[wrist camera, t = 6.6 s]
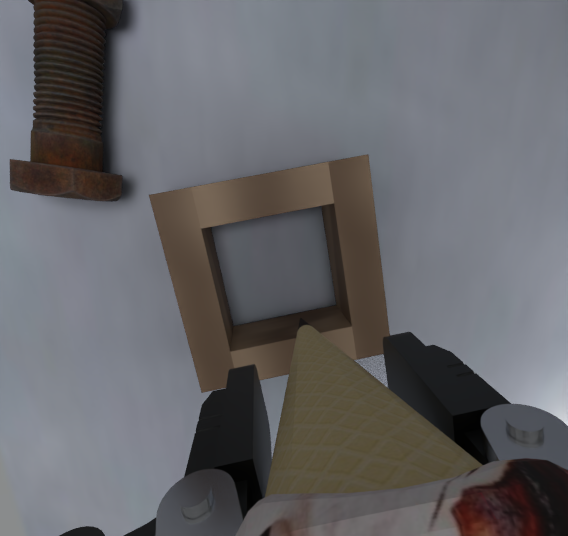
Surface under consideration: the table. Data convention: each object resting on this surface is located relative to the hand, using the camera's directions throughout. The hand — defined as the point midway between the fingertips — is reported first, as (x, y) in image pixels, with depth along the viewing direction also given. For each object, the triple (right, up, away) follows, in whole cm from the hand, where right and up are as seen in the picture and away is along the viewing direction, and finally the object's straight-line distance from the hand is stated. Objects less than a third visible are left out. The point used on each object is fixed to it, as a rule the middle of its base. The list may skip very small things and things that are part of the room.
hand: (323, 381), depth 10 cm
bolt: (-12, +15, +11) cm, 22 cm away
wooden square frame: (-2, +3, +14) cm, 15 cm away
